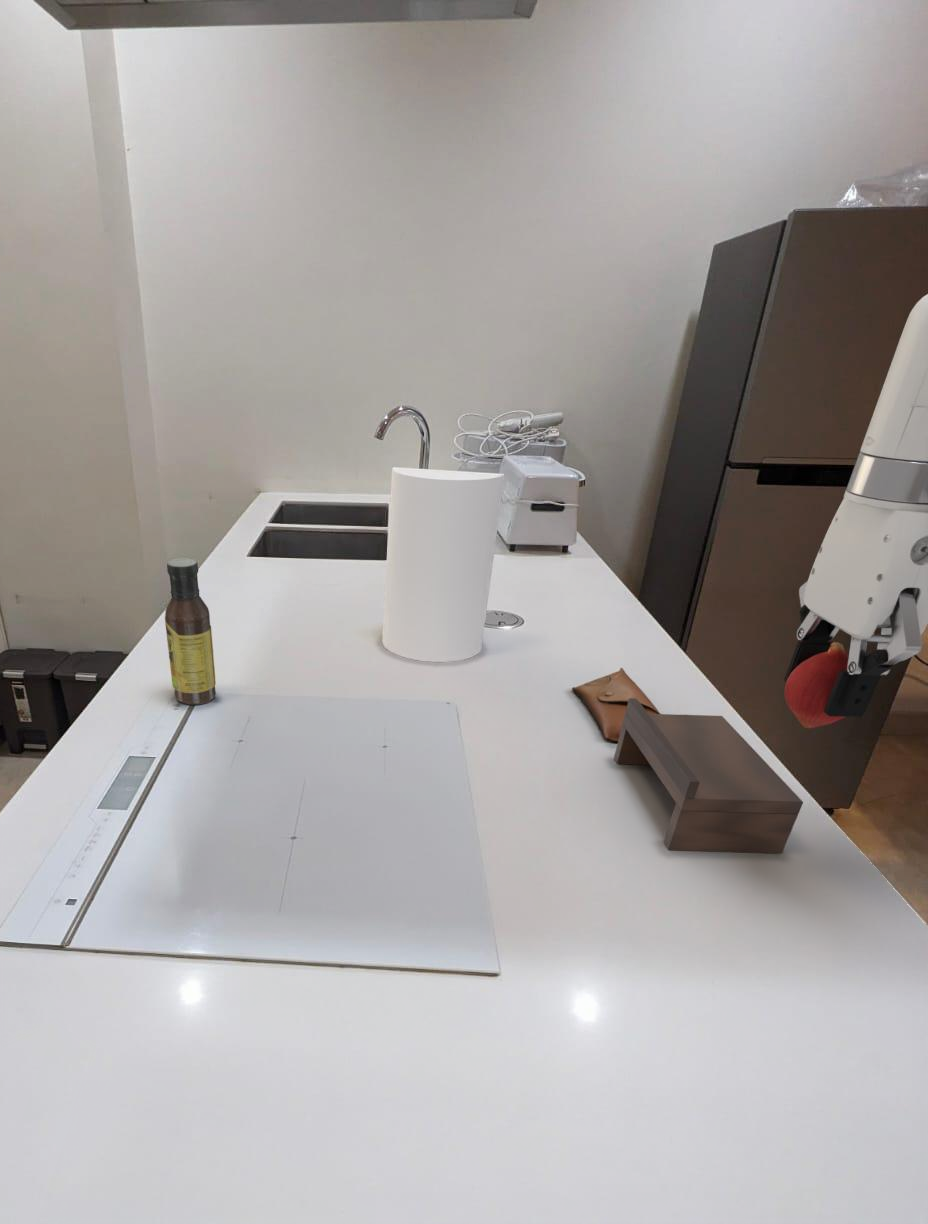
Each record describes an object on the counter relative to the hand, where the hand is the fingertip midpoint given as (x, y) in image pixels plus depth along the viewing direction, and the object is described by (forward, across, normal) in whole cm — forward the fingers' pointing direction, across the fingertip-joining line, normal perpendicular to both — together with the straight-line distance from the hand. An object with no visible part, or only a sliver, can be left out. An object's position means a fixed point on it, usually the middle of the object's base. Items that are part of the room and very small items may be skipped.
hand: (822, 696), depth 67 cm
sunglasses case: (+19, +36, +3) cm, 41 cm away
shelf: (+19, +13, +2) cm, 23 cm away
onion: (+3, 0, 0) cm, 3 cm away
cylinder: (+19, +63, +27) cm, 71 cm away
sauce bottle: (+19, +39, +64) cm, 77 cm away
